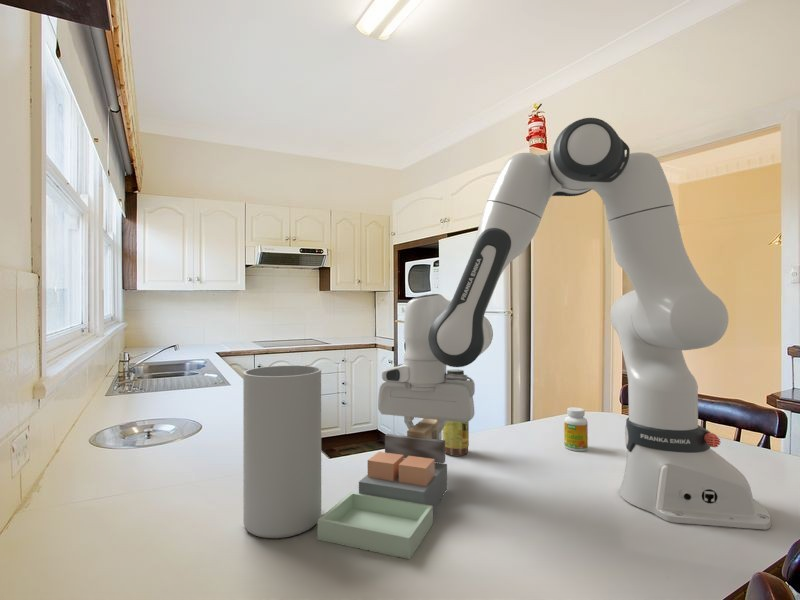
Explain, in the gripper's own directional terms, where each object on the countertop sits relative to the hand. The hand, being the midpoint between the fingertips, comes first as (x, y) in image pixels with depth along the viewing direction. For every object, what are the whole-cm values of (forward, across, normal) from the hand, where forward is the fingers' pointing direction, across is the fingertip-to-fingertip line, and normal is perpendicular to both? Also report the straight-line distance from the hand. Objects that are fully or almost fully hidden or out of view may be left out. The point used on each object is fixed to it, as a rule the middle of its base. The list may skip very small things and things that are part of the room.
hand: (425, 439), depth 95 cm
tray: (+8, 0, +24) cm, 25 cm away
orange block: (+3, +3, +14) cm, 14 cm away
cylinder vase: (+8, +16, +27) cm, 32 cm away
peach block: (+3, -3, +14) cm, 14 cm away
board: (+8, 0, +12) cm, 14 cm away
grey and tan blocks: (+2, 0, 0) cm, 2 cm away
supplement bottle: (+8, -29, -31) cm, 44 cm away
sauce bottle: (+8, -2, -17) cm, 19 cm away
